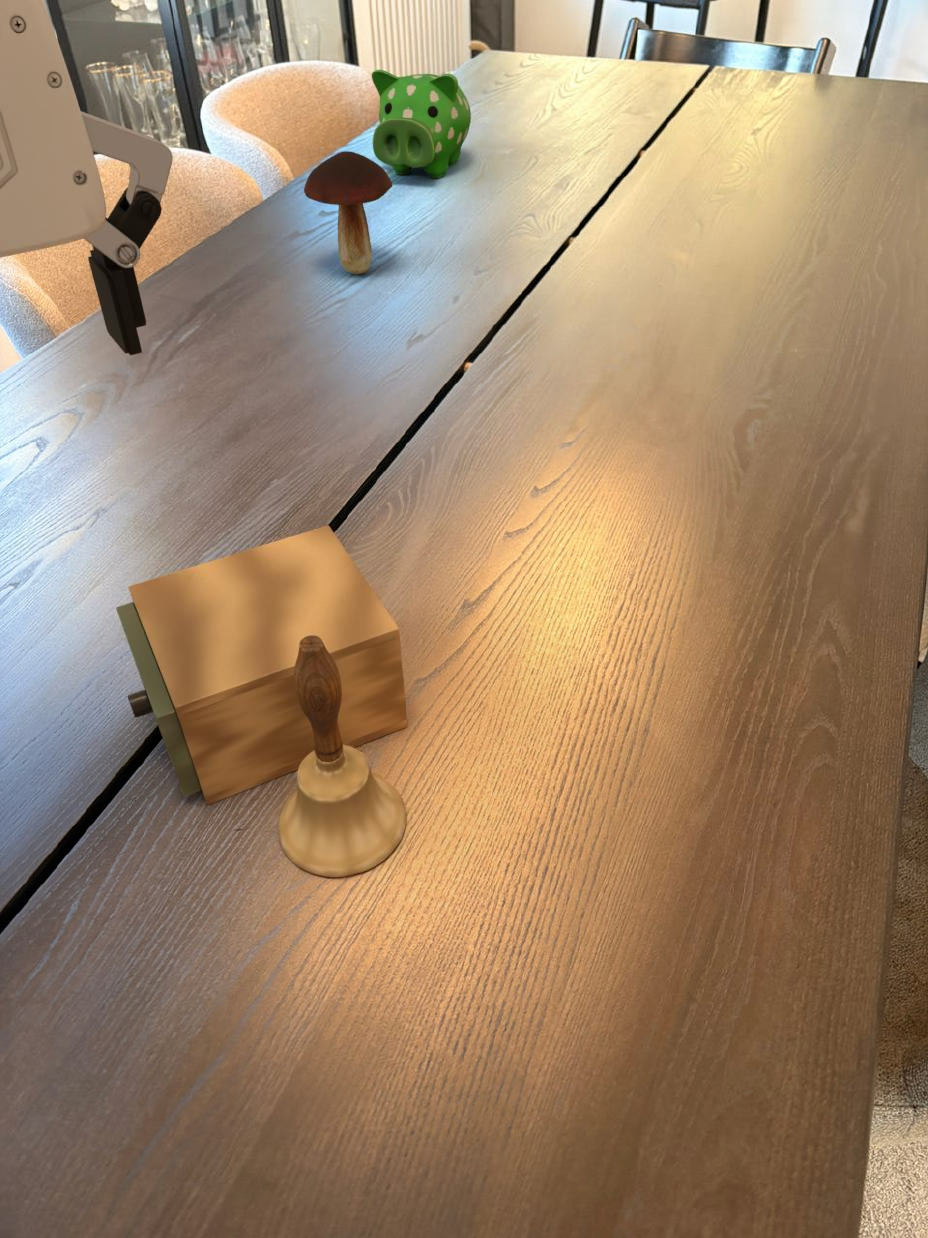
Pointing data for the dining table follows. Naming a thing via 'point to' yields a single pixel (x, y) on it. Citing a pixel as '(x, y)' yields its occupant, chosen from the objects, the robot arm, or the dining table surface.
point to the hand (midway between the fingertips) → (21, 369)
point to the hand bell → (335, 785)
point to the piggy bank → (420, 122)
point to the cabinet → (269, 655)
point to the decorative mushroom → (349, 202)
